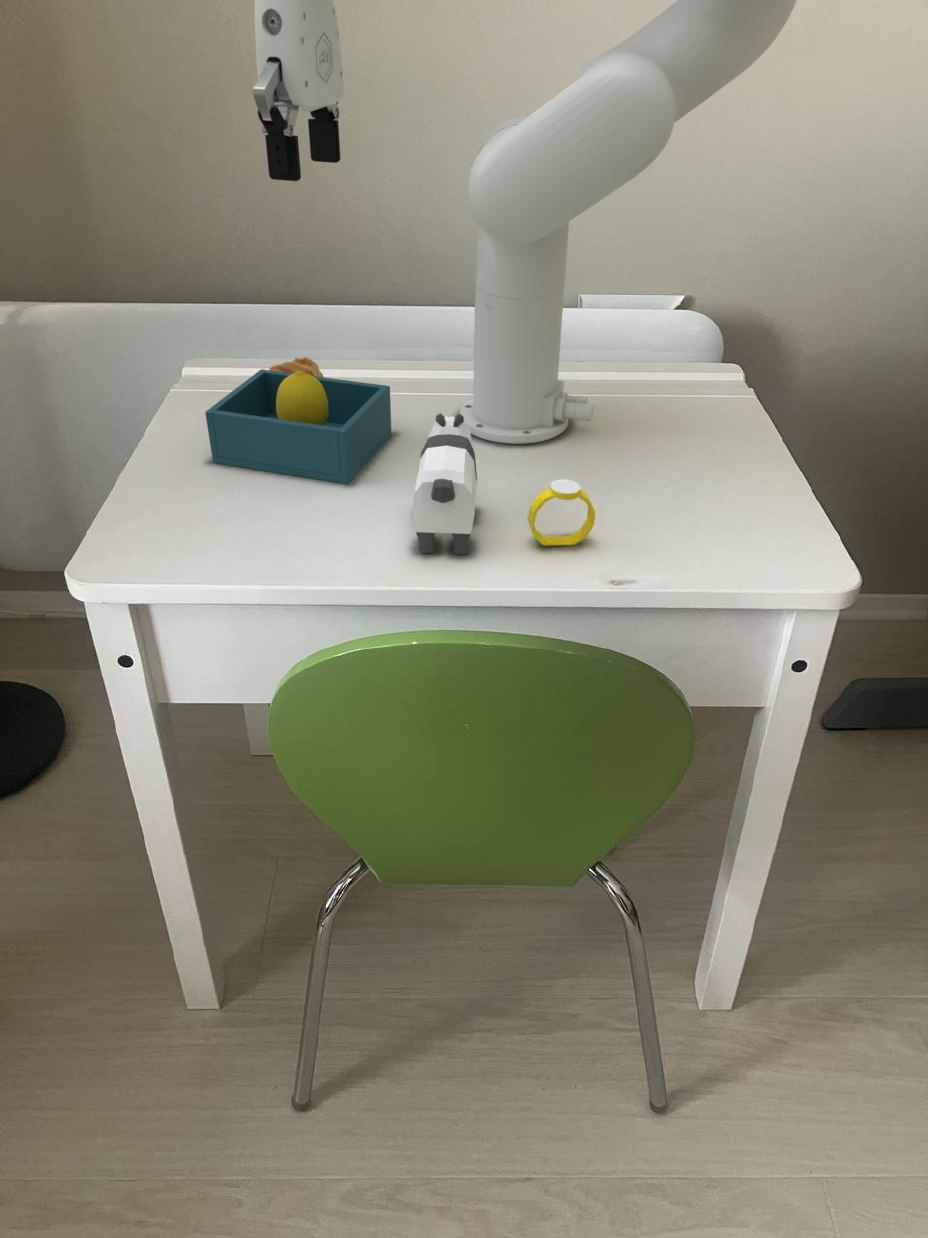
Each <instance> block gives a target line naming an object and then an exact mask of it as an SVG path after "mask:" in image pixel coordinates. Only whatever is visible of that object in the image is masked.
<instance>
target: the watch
mask: <svg viewBox="0 0 928 1238" xmlns="http://www.w3.org/2000/svg"><path fill="white" fill-rule="evenodd" d="M554 498H556V499H559V500H561V501H562V500H563V501H571V500H575V499H578V498H579V499H580V500H581V501H583V502H585V504H586V505H587V514H586V519H585V520H584V523H582V525H581V527H580V528H579V529H578V530H576V531H574V532H573V533H572V534H570V535H543V534H542V533H540V532H539V531H538V530H537V528H536V526H535V525H536V524H535V522H536V518H537V514H538V512H539V511H540V509H541V508H542V507H543V506H544V505H545V503H546V502H548V501H550V500H552V499H554ZM530 504H531V505H530V506H529V509H528V514H527V521H528V525H529V527H530V530H531V531H530V532H531V533H532V536H533V537H534V539H535V540H536V541H538V542H539V543H540V544H541V545H542V546H544V547H547V546H550V547H551V546H554V547H555V546H576V545H578V543H580V542H582V541H583V540H585V539H586V538H587V537H588V536H589V534H590V532H591V531H592V529H593V528H594V525H595V521H596V509H595V508H594V506H593V504H592V502H591V499H590V498H589V496H588V494H587V493H586V492H585V491H583V490H582V487H581V485H580V484H579V483H577V482H576V481H574V480H572V479H571V480H570V479H565V478H564V479H563V478H562V479H556V480H553V481H552V482H550V484H549V488H547V489H544V490H543V491H541V492H540V493H539V494H538V495H537V496H536V497H535V499H534V500H533V501H532V502H531V503H530Z"/></svg>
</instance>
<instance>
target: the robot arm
mask: <svg viewBox="0 0 928 1238" xmlns="http://www.w3.org/2000/svg"><path fill="white" fill-rule="evenodd" d="M797 1H798V0H676V1H674V2H673V3H672V4H671V5H669V7H667V8H666V9H665V10H664V11H662V12H661V13H660V14H659V15H657V16H656V17H655V18H653V19H652V20H650V21H649V22H648V23H647V24H644V26H642V27H641V28H639V29H638V30H637V31H635V32H634V33H632V34H630V36H628V37H627V38H625V39H624V40H622V41H621V42H620V43H618V44H617V45H614V47H612V48H610V49H608V50H607V51H605V52H603V53H601V54H599V55H598V56H596V57H595V58H593V59H592V60H591V61H589V63H588V64H586V66H585V67H584V68H583V70H582V71H580V74H579V76H578V77H577V79H576V80H575V81H574V82H572V83H571V84H570V85H568V86H567V87H566V88H564V89H563V90H562V91H561V92H559V93H557V95H555V96H554V97H553V98H551V99H550V100H548V101H547V102H546V103H545V104H543V105H542V106H541V107H539V108H538V109H537V110H535V111H534V112H532V113H530V115H524V116H523V115H521V116H515V117H512V118H510V119H508V120H505V121H504V122H503V123H501V124H499V125H498V126H497V127H496V128H495V129H493V130H492V132H491V133H489V135H488V137H486V139H485V141H484V142H483V144H482V146H481V147H480V149H479V151H478V153H477V155H476V158H475V159H474V161H473V163H472V165H471V168H470V171H469V176H468V180H467V191H466V192H467V201H468V206H469V210H470V213H471V215H472V218H473V220H474V221H475V223H476V224H477V225H476V245H475V283H474V326H473V327H474V332H473V333H474V334H473V337H474V338H473V388H472V389H473V390H472V392H473V394H472V395H473V396H472V398H471V399H469V400H467V401H466V402H465V403H464V404H463V405H462V406H461V408H460V409H459V414H461V415H462V416H464V421H465V423H466V425H467V427H468V429H469V430H470V434H471V435H473V436H475V437H477V438H480V439H483V440H487V441H490V442H494V443H503V444H510V445H511V444H513V445H514V444H515V445H517V444H518V445H521V444H535V443H541V442H544V441H547V440H550V439H553V438H555V437H558V436H559V435H560V434H562V433H564V431H566V429H568V425H569V419H573V420H576V421H581V422H589V423H592V421H593V419H594V413H595V404H593V403H588V397H587V396H580V395H575V396H574V395H569V394H568V392H565V391H564V388H565V381H564V380H559V371H560V370H559V368H560V353H561V341H562V340H561V339H562V325H563V310H564V296H565V284H566V274H567V273H566V272H567V257H568V256H567V255H568V243H569V242H568V241H569V229H570V222H571V221H573V219H575V218H577V217H579V216H580V215H581V214H583V213H584V212H586V211H587V210H589V209H590V208H592V207H593V206H595V205H597V204H598V203H599V202H600V201H602V200H604V199H605V198H606V197H608V196H610V195H611V194H613V193H614V192H615V191H617V190H619V189H620V188H621V187H623V186H624V185H626V184H627V183H629V182H630V181H632V180H633V179H634V178H636V177H637V176H638V175H640V174H641V173H642V172H643V171H645V170H646V169H647V168H648V167H649V166H651V164H652V163H654V161H655V160H657V158H658V157H659V156H660V154H661V153H662V152H663V150H665V147H666V146H667V144H668V142H669V140H670V138H671V135H672V132H673V130H674V126H675V124H676V123H677V122H678V121H680V119H682V118H683V117H684V116H686V115H687V114H689V113H690V112H692V111H693V110H694V109H696V108H697V107H699V106H700V105H701V104H703V103H704V102H706V101H707V100H708V99H709V98H711V97H713V95H715V94H716V93H717V92H719V91H720V90H722V89H723V88H724V87H725V86H727V85H728V84H729V83H731V82H732V81H734V80H735V79H737V77H739V76H740V75H741V74H743V73H744V72H746V71H747V69H749V68H750V67H751V66H752V65H753V64H755V63H756V61H758V60H759V59H760V58H761V57H762V56H763V55H764V54H765V52H767V50H768V49H769V48H770V47H771V46H772V44H773V43H774V42H775V41H776V39H777V38H778V36H779V34H780V33H781V32H782V30H783V29H784V27H785V26H786V24H787V22H788V20H789V18H790V16H791V14H792V12H793V10H794V8H795V6H796V3H797ZM254 35H255V36H254V40H255V41H254V42H255V59H256V70H257V80H256V82H255V83H254V85H253V87H252V96H253V98H254V101H255V104H256V108H257V117H258V119H259V121H260V122H261V132H262V134H263V135H264V138H265V146H266V157H267V168H268V176H269V178H270V179H271V180H276V181H287V182H298V181H300V180H301V178H302V171H301V159H300V148H299V136H298V135H294V131H295V127H296V122H297V119H298V114H299V108H300V110H302V111H303V112H306V113H307V112H309V113H310V116H311V118H308V119H307V126H308V139H309V152H310V159H311V161H312V162H316V163H317V162H318V163H319V162H321V163H331V164H337V163H338V162H340V161H341V146H340V145H341V143H340V129H339V128H340V127H339V126H340V125H339V119H340V108H339V106H338V103H339V101H340V100H341V99H342V97H343V96H344V93H345V91H344V75H343V64H342V62H343V61H342V53H341V45H340V44H341V43H340V33H339V25H338V19H337V12H336V7H335V1H334V0H254ZM283 113H284V114H285V116H283V115H282V114H283Z"/></svg>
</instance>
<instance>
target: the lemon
mask: <svg viewBox="0 0 928 1238" xmlns="http://www.w3.org/2000/svg"><path fill="white" fill-rule="evenodd" d="M276 411H277V416H278V419H281V420H288V421H295V422H302V423H309V424H316V425H323V426H325V425H326V422H327V419H328V413H329V407H328V400H327V396H326V393H325V390H324V388H323V386H322V384H321V383H320V382H319V381H318V380H317V379H316V378H315V377H314V376H312V375H310V374H307V373H304V372H303V371H301V370H298V371H296V372H295V373H294V374H291V375H289V376H288V377H286V378H285V379H284V380H283V381H282V383H281V384H280V386H279V388H278V392H277V398H276Z"/></svg>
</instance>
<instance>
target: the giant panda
mask: <svg viewBox="0 0 928 1238" xmlns="http://www.w3.org/2000/svg"><path fill="white" fill-rule="evenodd" d="M418 468H419V469H418V473H417V476H416V480H415V486H414V495H413V504H412V512H411V516H412V522H413V525H414V530H415V534H416V536H417V539H418V550H419V551H418V552H419V553H421V554H425V555H426V554H433V553H434V552H435V550H436V536H435V534H452V537H453V543H452V552H453V554H455V555H460V556H463V555H468V554H469V551H470V539H471V536H472V531H473V526H474V521H475V520H474V519H475V511H476V509H475V507H476V491H477V483H478V473H477V471H478V470H477V461H476V454H475V450H474V448H473V446H472V434H471V433H470V430H469V429H468V427H467V425H466V423H465V421H464V416H462V415H461V414H460V413H458V414H456V415H455V416H451V415H449V416H445V415H443V414H442V413H441V412H440V413H438V414H436V415H435V422H434V423H433V426H432V428H431V429H430V432H429V434H428V437H427V441H426V442H425V444H424V446H423V448H422V449H421V452H420V457H419V466H418Z"/></svg>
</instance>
